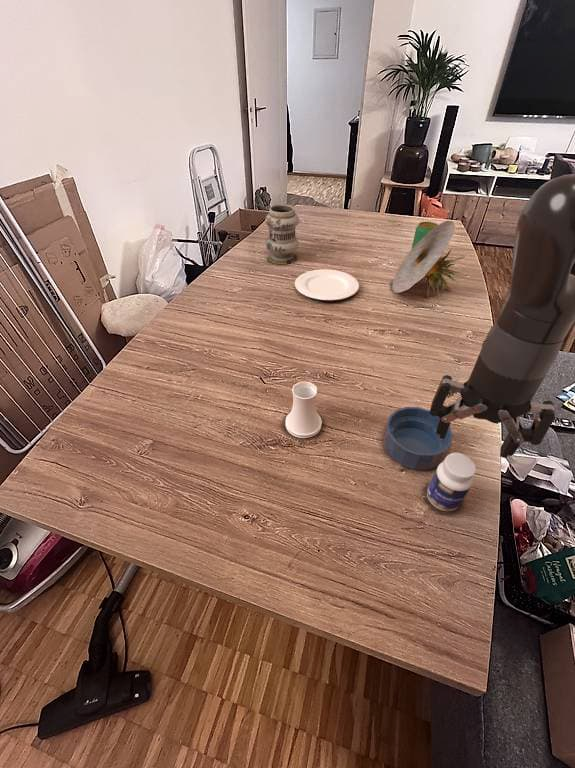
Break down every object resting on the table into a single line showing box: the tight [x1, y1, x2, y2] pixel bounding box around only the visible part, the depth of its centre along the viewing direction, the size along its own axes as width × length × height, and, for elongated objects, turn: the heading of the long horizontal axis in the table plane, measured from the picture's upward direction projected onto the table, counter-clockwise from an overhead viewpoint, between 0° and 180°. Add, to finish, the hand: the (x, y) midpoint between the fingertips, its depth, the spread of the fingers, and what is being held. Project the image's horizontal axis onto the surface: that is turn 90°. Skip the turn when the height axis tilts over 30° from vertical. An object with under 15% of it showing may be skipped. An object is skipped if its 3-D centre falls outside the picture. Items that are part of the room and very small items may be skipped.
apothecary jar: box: [264, 203, 300, 265], centre depth 134 cm, size 12×12×18 cm
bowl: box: [382, 406, 454, 471], centre depth 73 cm, size 12×12×5 cm
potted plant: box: [391, 220, 465, 298], centre depth 117 cm, size 25×18×25 cm
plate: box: [294, 268, 360, 302], centre depth 122 cm, size 21×21×2 cm
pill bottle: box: [426, 452, 477, 512], centre depth 63 cm, size 6×6×10 cm
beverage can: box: [410, 221, 439, 251], centre depth 136 cm, size 8×8×12 cm
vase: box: [285, 381, 323, 439], centre depth 75 cm, size 8×8×10 cm
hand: (471, 444), depth 56 cm, fingers open, 8 cm apart
